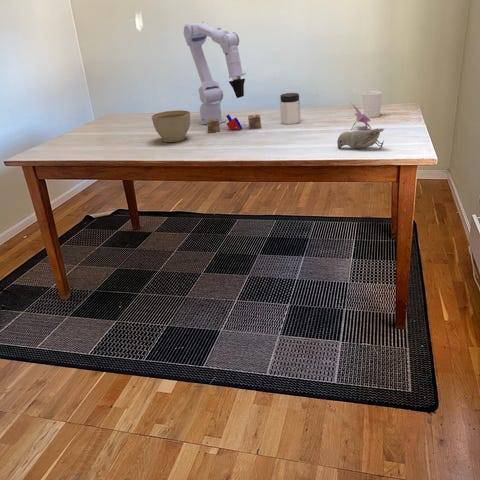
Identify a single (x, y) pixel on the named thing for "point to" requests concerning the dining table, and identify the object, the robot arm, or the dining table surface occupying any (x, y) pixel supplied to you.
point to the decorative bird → (360, 138)
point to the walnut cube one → (254, 122)
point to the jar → (290, 108)
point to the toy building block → (233, 123)
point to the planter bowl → (172, 124)
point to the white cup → (372, 103)
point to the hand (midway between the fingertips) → (240, 97)
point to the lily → (361, 117)
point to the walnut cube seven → (213, 125)
